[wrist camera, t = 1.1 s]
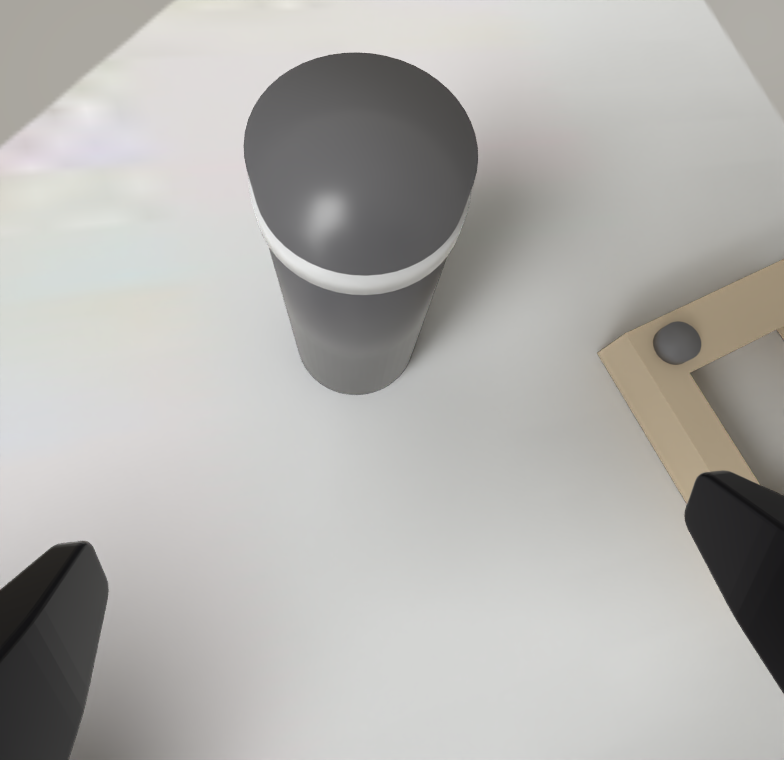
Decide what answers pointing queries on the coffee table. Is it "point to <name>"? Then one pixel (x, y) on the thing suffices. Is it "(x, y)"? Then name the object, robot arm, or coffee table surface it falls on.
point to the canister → (359, 207)
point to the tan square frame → (681, 357)
